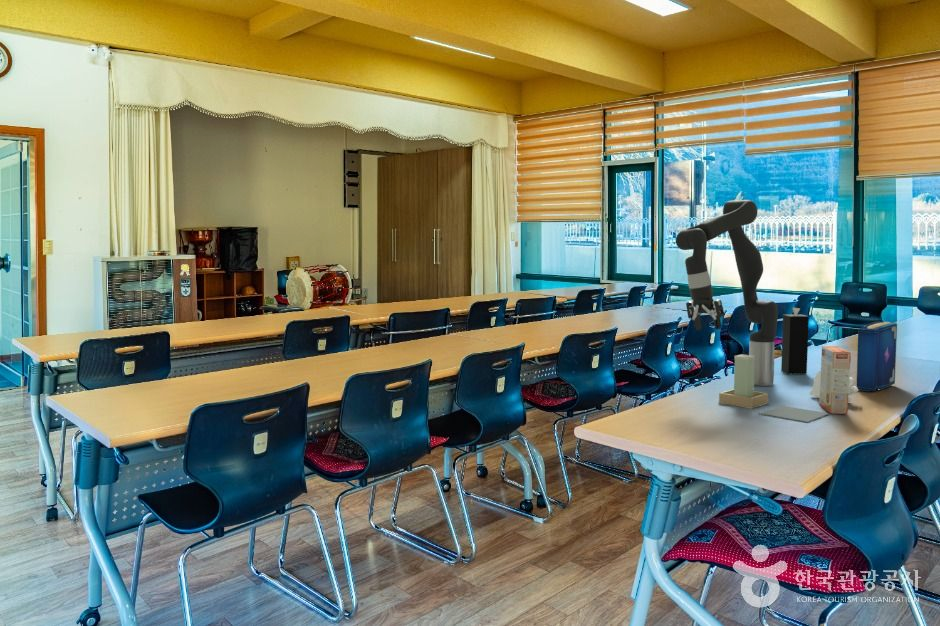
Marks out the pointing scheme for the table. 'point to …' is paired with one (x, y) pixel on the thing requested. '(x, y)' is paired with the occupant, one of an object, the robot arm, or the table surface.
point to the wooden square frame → (743, 399)
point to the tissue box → (795, 343)
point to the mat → (794, 414)
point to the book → (876, 356)
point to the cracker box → (835, 379)
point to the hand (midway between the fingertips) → (708, 329)
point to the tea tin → (744, 375)
